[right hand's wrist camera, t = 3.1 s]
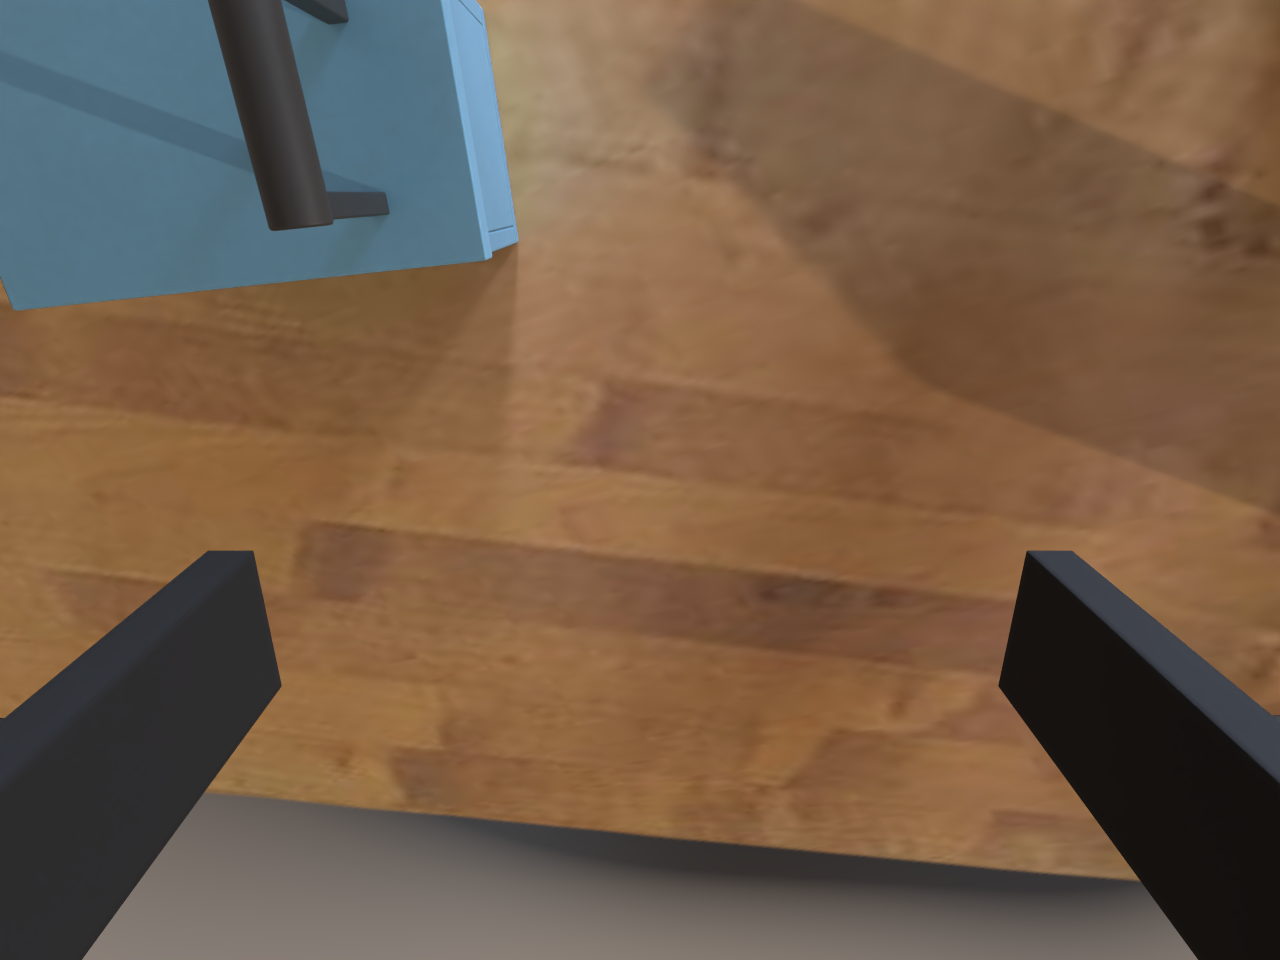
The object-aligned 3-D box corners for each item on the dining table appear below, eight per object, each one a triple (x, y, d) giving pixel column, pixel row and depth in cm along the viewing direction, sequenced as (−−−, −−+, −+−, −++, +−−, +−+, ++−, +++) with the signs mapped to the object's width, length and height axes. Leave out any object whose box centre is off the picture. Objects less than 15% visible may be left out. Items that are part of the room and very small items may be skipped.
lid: (437, -74, 22) (337, -208, 15) (493, 258, 26) (433, 283, 18) (-87, -9, 23) (-433, -107, 16) (36, 306, 27) (-199, 350, 19)
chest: (483, 8, 32) (416, -71, 22) (519, 242, 36) (474, 259, 26) (127, 51, 33) (-85, -9, 23) (197, 276, 36) (37, 306, 27)
